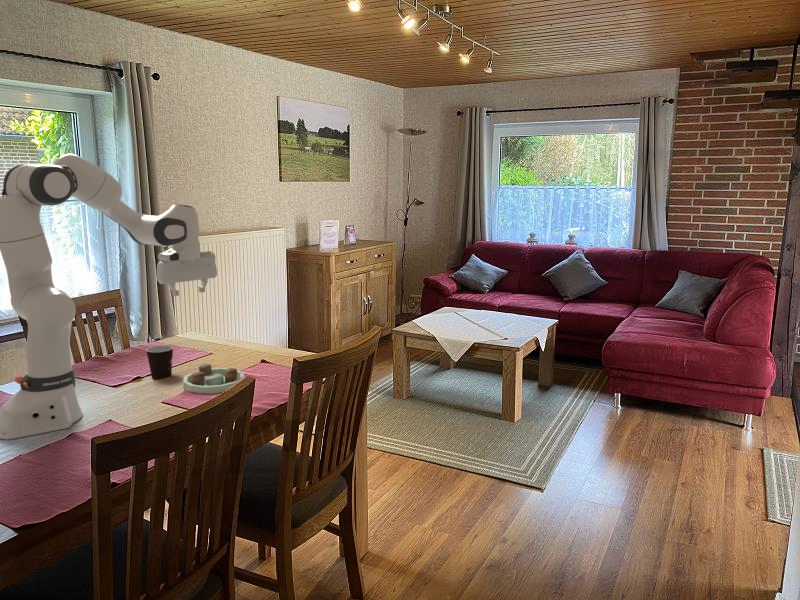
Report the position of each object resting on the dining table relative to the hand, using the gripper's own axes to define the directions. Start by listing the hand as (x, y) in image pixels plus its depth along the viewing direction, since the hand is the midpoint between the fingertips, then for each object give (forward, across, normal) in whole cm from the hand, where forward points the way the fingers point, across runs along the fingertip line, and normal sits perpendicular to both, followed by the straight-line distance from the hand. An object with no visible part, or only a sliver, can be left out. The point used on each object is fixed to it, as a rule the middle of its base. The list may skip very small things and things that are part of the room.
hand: (189, 293), depth 212 cm
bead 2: (+28, 0, +8) cm, 29 cm away
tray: (+29, 0, +14) cm, 32 cm away
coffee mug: (+29, +7, -8) cm, 31 cm away
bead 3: (+28, -4, +18) cm, 34 cm away
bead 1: (+28, +6, +14) cm, 32 cm away
